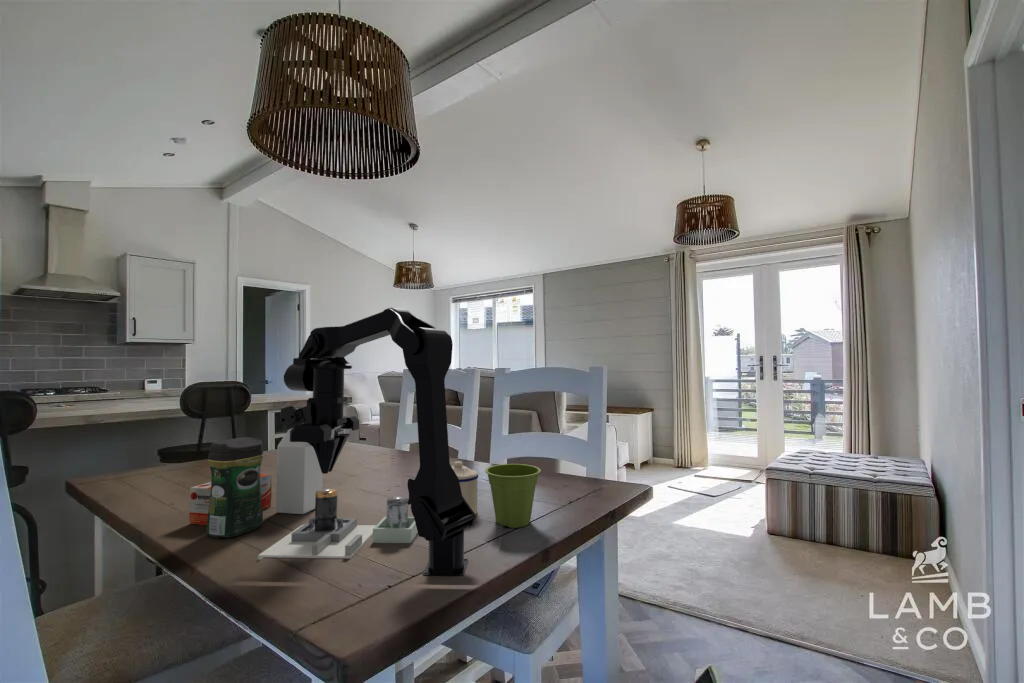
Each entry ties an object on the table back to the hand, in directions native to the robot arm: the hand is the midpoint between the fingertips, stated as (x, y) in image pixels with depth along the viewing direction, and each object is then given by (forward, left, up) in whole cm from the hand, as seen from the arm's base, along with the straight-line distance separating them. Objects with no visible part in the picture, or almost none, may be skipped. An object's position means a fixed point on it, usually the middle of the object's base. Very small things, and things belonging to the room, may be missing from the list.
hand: (326, 472), depth 94 cm
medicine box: (+13, +27, -13) cm, 33 cm away
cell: (0, 0, -11) cm, 11 cm away
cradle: (0, 0, -11) cm, 11 cm away
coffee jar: (+3, +20, -13) cm, 24 cm away
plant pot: (+10, -36, -13) cm, 40 cm away
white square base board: (-3, -1, -12) cm, 13 cm away
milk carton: (+18, +14, -13) cm, 26 cm away
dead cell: (0, -14, -12) cm, 18 cm away
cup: (0, -14, -12) cm, 19 cm away
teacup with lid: (+16, -22, -13) cm, 30 cm away
